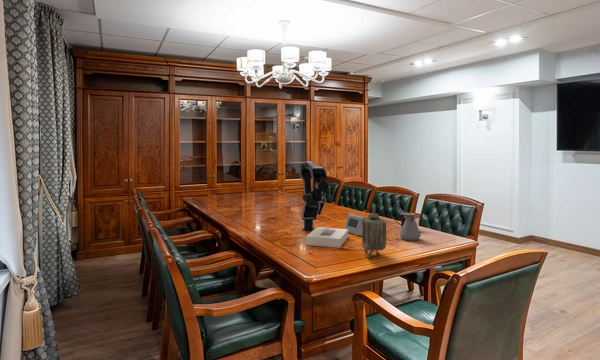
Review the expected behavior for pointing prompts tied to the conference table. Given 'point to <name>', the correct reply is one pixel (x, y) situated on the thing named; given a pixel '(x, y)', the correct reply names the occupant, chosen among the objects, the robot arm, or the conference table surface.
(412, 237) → the coffee pot
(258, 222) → the conference table surface
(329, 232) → the light grey rectangular block
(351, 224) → the digital clock
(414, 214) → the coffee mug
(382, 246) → the shaggy robed figurine
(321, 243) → the slot board
